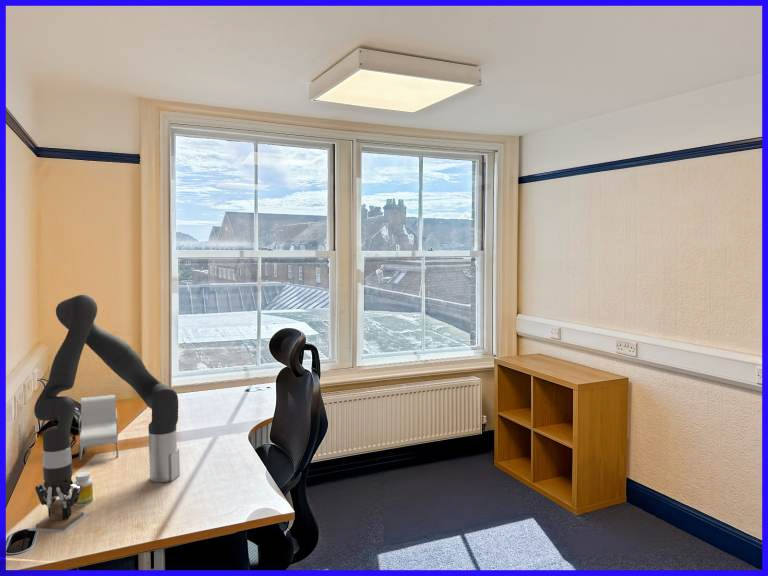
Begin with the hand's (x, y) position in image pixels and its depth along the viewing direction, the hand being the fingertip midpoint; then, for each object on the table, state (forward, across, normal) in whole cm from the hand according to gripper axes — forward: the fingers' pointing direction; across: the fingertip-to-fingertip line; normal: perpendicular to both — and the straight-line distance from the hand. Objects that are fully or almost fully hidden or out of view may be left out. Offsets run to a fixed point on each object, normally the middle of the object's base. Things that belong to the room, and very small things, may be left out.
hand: (59, 517), depth 175 cm
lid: (+1, 0, 0) cm, 1 cm away
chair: (+2, +23, -58) cm, 62 cm away
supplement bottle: (+2, +1, -13) cm, 13 cm away
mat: (+2, 0, 0) cm, 2 cm away
